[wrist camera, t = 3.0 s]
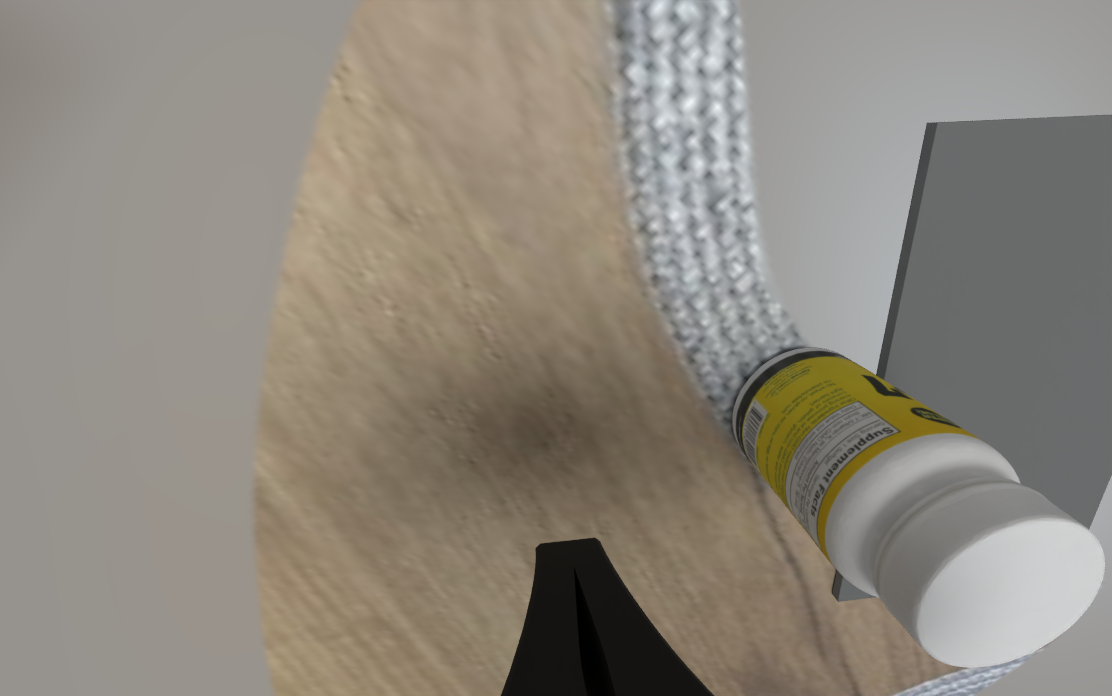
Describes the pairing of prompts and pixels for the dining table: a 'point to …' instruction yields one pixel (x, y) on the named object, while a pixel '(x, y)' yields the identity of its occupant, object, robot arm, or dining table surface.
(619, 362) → the dining table surface
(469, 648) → the dining table surface
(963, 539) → the supplement bottle
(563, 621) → the robot arm
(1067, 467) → the mat
